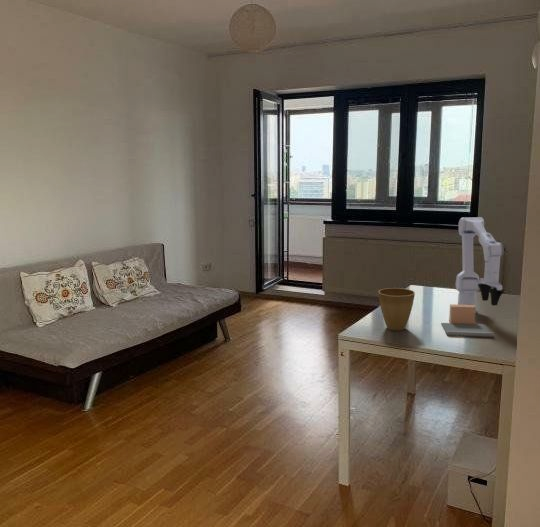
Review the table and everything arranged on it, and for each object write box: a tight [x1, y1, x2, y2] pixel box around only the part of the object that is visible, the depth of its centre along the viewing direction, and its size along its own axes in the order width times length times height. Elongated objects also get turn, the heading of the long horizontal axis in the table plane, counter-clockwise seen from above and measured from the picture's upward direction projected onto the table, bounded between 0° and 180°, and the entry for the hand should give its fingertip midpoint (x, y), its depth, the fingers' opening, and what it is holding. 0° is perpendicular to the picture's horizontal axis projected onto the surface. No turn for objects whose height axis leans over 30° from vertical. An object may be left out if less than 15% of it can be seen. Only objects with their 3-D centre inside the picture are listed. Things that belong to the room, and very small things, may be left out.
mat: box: [440, 322, 495, 339], centre depth 226 cm, size 16×18×2 cm
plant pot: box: [378, 287, 416, 332], centre depth 229 cm, size 15×15×16 cm
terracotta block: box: [448, 303, 477, 324], centre depth 235 cm, size 4×10×8 cm, turn 81°
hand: (489, 302), depth 230 cm, fingers open, 7 cm apart
